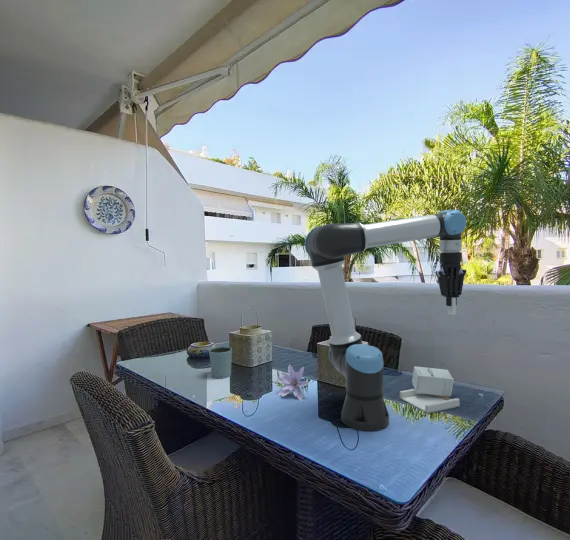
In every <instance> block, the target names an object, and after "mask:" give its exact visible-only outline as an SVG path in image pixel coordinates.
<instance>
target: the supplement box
mask: <svg viewBox="0 0 570 540" xmlns="http://www.w3.org/2000/svg"><path fill="white" fill-rule="evenodd" d="M411 380H412V381H411V384H412V386H413V389H415V391H416V393H421V394H430V395H439V396H447V397H449V398H451V397H452V393H453V387H454V381H455V379H454V378H453V376H452V375H451V373H450V371H449V370H448V369H443V368H435V367H424V366H423V367H422V366H415V365H414V366H413V373H412V379H411Z"/></svg>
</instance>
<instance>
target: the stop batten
mask: <svg viewBox="0 0 570 540" xmlns="http://www.w3.org/2000/svg"><path fill="white" fill-rule="evenodd" d="M436 396H438V397H440V398H443V399H445V400H451V399H452V398H451V397H448V396H439V395H436Z"/></svg>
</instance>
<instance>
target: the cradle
mask: <svg viewBox="0 0 570 540" xmlns="http://www.w3.org/2000/svg"><path fill="white" fill-rule="evenodd" d="M399 399H401V400H402V401H405V402H406V403H408V404H410V405H412V406H414V407H415V408H417V409H419V410H421V411H422V412H423V413H424V412H425V413H426V414H431V413H437V412H442V411H444V410H445V411H446V410H451V409H454V408H458V407H460V406H461V405H460V404H461V403H460V402H461V401H460V400H461V399H460V398H458V397H457V398H456V397H455V398H451V400H445V399H443V398H440V397H438V396H436V395H430V394H421V393H416V391H415V389H414V388H411V389H405V390H400V391H399Z"/></svg>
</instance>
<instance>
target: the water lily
mask: <svg viewBox="0 0 570 540" xmlns="http://www.w3.org/2000/svg"><path fill="white" fill-rule="evenodd" d="M287 371H288V373H287V372H282V371H281V372H280V377H279V378H277V379H276V380H277V382H278V383H279V384H281V385H284V386H283V387H282V388H281V389H280V390H279V392H278V394H277V396H281V397H282V398H283V397H285V396H287V395H289V394H290V393H291V392H292V391H293V395H294V397H296V398H297V399H298V400H299V401H302V400H303V393H302V392H303V391H302V390H301V387H305V386H307V385H309V382H308V381H307V380H302V381H300V380H301V378H302V376H303V375H304V371H305V367H304V366H302V367H301V368H300V369H299V370H298V371H295V370H294V367H293V366H292V365H291V364H288V367H287Z"/></svg>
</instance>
